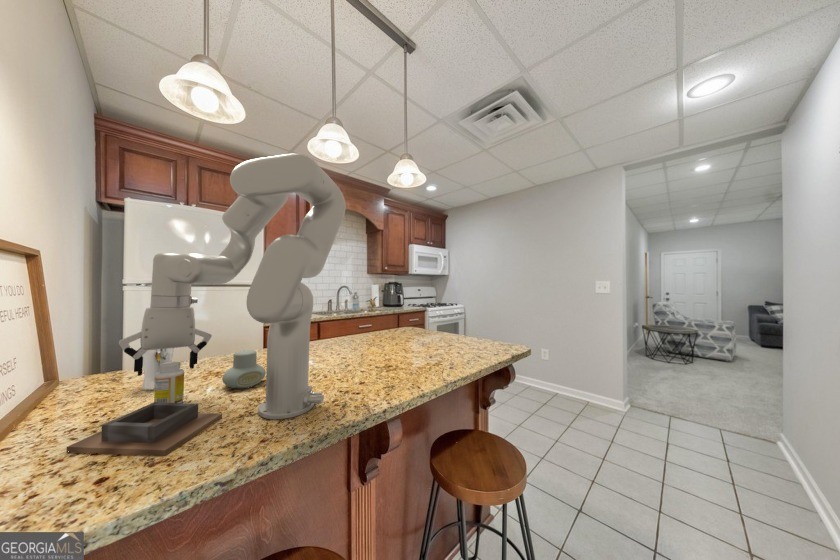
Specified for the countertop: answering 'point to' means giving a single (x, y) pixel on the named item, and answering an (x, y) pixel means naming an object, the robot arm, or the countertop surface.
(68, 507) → the countertop surface
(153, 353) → the beer glass
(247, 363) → the air freshener
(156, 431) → the tray
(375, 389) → the countertop surface
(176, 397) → the supplement bottle
